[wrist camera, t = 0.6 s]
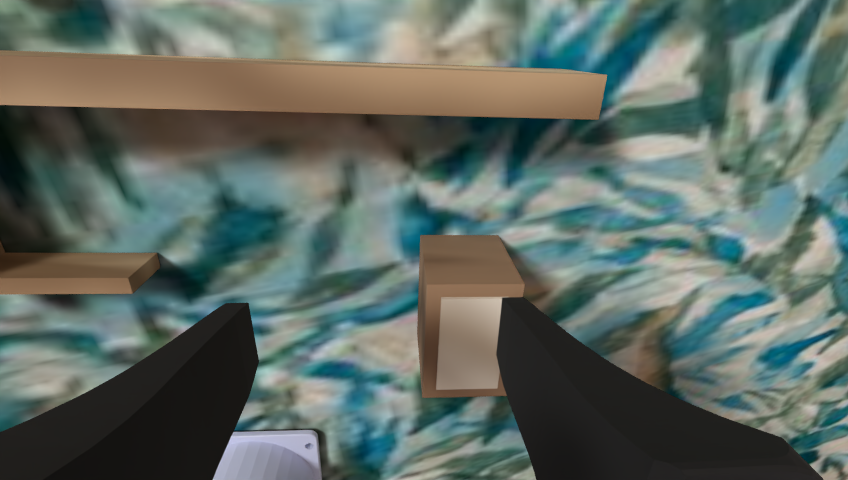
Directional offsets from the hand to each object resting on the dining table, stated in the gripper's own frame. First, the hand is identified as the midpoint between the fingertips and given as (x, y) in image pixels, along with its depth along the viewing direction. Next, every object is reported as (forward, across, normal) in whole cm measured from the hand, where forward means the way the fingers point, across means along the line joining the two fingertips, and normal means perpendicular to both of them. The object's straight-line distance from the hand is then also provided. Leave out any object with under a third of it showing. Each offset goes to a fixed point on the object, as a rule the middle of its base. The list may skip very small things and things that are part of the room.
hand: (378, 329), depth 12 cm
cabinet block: (+10, -4, +4) cm, 11 cm away
